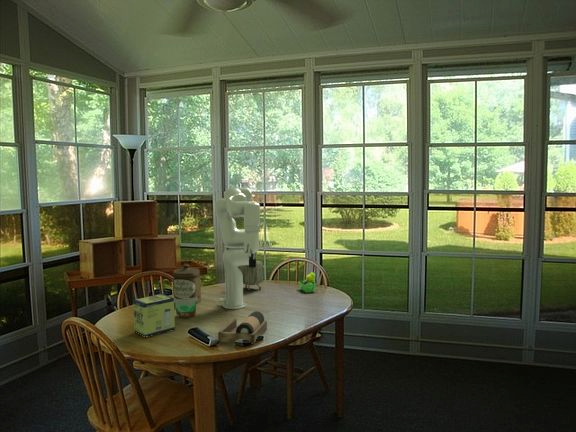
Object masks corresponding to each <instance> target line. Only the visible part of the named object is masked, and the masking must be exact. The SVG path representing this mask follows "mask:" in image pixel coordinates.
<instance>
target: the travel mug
mask: <svg viewBox="0 0 576 432" xmlns="http://www.w3.org/2000/svg"><path fill="white" fill-rule="evenodd" d="M263 321H265V317H264V314H263V313H262V312H260V311H257V310H256V311H253V312H252V313H250V314H249V315H248V316H246V317H245V319H243V321H241V322H240V324H239V325H238V327H237V329H236V333H245V334H252V333H253V332H254V331H255V330H256V329H257V328H258V327H259V326H260V325H261V324H262V323H263Z"/></svg>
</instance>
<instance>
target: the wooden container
mask: <svg viewBox="0 0 576 432" xmlns="http://www.w3.org/2000/svg"><path fill="white" fill-rule="evenodd" d="M172 274H173V298H176V299H181V298H194V297H196V296H197V298H198V301H197V302H196V305H197V304H200V303H201V302H202V292H201V291H202V288H201V272H200V269H198V268H194V267H190V264H189V263H184V264H183V265H182V268H180V269H175V270H173V272H172Z"/></svg>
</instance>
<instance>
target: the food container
mask: <svg viewBox="0 0 576 432" xmlns="http://www.w3.org/2000/svg"><path fill="white" fill-rule="evenodd" d="M173 298H174V297H173ZM197 301H198V298H197V296H196V297H194V298H181V299H176V298H174V308H175V313H176V318H178V319H182V320H183V319H185V320H186V319H191V318H194V317H196V313H197V304H196V302H197Z"/></svg>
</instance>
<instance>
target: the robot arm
mask: <svg viewBox="0 0 576 432" xmlns="http://www.w3.org/2000/svg"><path fill="white" fill-rule="evenodd" d="M223 196H224V197H223V198H218V199H217V200H216V201H215V202H214V211H215V215H216V217H217V220H218V222H219V225H220V230H221V237H222V241H223V242H222V243H223V245H224V246H225V247H226V248H228V249H226V250H224V251H223V252H222V262H223V267H224V286H225V287H224V289H225V290H224V291H225V295H224V296H225V297H219V298H218V302H219V303H223V304H222V307H223V308H224V309H227V310H228V309H229V310H238V309H243V308H245V307H246V306H247V303H246V302H245V301H244V284H243V275H242V272H241V271H240V270H239V268H238V266H243V265H249V267H253V268H255V267H256V260H257V253H258V251H259V250H260V233H261V206H260V203H258V202H256V201H255V200H254V201H253V200H252V199H253V192H252V191H251V189H250V188H248V187H230V188H227V189H226V190H225V192H224V194H223ZM234 218H243V226H244V227H243V229H242V228H241V229H238V228H237V222H236V220H235V219H234Z"/></svg>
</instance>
